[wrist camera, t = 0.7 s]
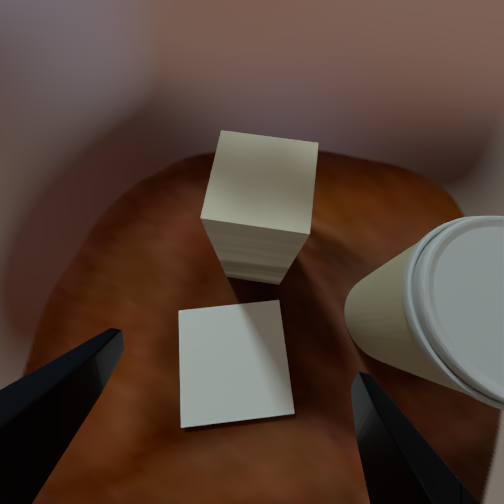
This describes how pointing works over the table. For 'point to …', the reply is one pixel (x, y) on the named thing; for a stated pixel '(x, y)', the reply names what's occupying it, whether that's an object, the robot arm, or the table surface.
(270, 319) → the ceramic tile
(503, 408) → the coffee cup
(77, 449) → the table surface
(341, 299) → the table surface
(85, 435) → the table surface
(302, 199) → the letter block
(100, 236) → the table surface
